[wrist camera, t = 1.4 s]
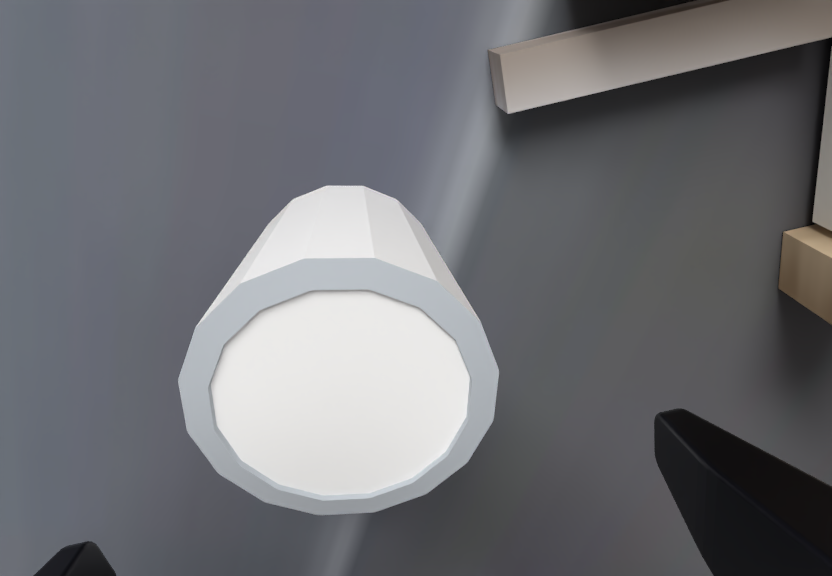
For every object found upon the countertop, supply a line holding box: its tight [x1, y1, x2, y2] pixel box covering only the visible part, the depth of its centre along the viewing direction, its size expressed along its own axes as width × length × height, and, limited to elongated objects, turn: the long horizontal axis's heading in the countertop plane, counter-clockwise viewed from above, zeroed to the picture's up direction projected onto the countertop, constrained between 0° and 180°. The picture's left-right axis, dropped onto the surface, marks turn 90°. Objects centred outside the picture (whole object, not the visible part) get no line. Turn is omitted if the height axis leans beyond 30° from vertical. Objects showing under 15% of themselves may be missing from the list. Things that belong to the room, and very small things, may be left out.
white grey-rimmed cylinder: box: [178, 186, 499, 515], centre depth 16 cm, size 7×7×7 cm
